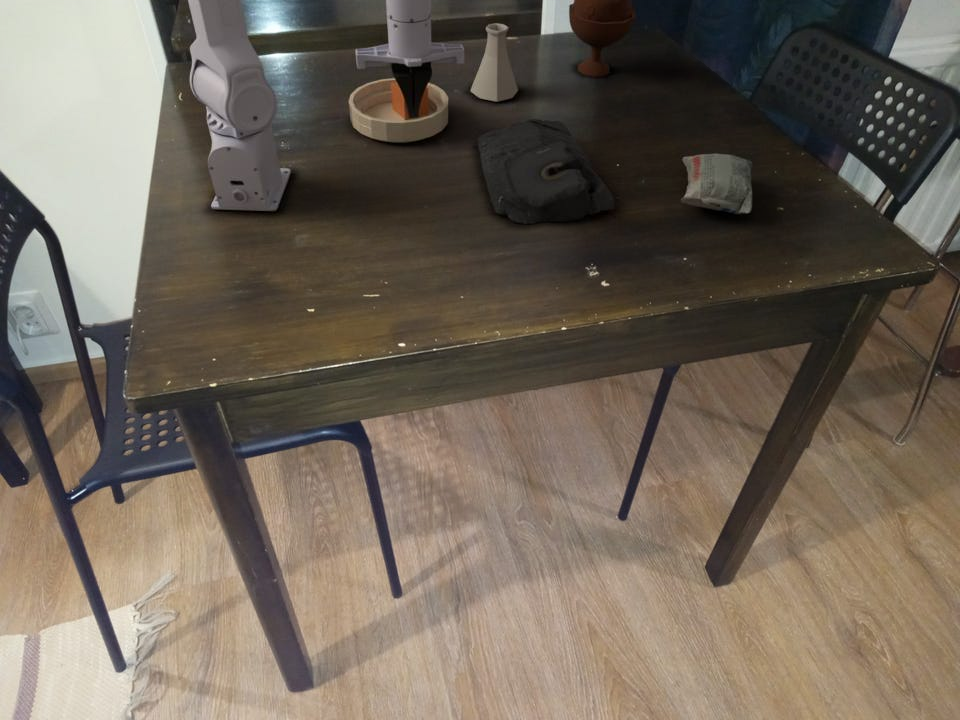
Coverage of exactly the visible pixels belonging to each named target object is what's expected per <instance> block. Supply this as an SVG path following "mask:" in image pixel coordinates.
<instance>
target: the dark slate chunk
mask: <svg viewBox="0 0 960 720" xmlns="http://www.w3.org/2000/svg"><path fill="white" fill-rule="evenodd" d="M477 143H478V146H477V147H478V150H479V155H480V156H479V158H480V162H481V168H482V172H483V178H485V183H486V186H487V187H486V188H487V192H488V194H489V196H490V203H492V207H493V210H494V212H495V213H496V214H498V215H500V216H503V217H507V218H508V219H510V221H511V223H513V224H517V225H518V224H523V225H528V224H532V225H534V224H535V223H538V222H550V223H554V222H555V223H556V222H558V223H562V222H570V221H577V220H582V219H584V218H585V217H587V216H594V215H595V214H600V211H608V210H614V207H615V203H616V202H615V201H616V200H615V198H614V197H613V194H612V192H611V190H610V189H609V188H608V187H607V185H606V183H605V182H604V181H603V180H602V179H601V178H600V176H599V175H598V174H597V173H596V171H594V169H593V168H592V166H591V162H590V160H589V159H588V156H587V155H586V153H585V152H584V151H583V150H582V149H581V147H580V145H579V143H577V142H576V140H575V139H574V137H573V136H572V133H571V131H570V130H569V128H568V127H567V126H566V124H565V123H563V122H561V121H559V120H548V119H545V120H543V119H538V118H531V119H526V120H523V121H520V122H516V123H513V124H511V125H508V126H506V127H504V128H499V129H494V130H490V131H488V132H487V133H484V134H482V135H480V136H479V137H478V139H477ZM589 191H590V192H589Z"/></svg>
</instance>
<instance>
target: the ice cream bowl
mask: <svg viewBox="0 0 960 720" xmlns="http://www.w3.org/2000/svg"><path fill="white" fill-rule="evenodd" d="M568 17H569V18H568V19H569V25H570V28H571V31H572V32H573V33H574V35H575V36H576V37H577V39H579V40H580V41H581V42H583V43H584V44H586V45H588V46H590V49H591V50H590V51H591V52H590V57H589V58H588V59H586V60H584V61H582V62H580V63H579V64H578V65H577V72H579V73H580V74H582V75H584V76H588V77H593V78H596V77H597V78H598V77H605V76H607V75H608V74H609V75H610V65H609V64H608V63H606V62H604V61H603V60H602V59H601V57H602V51H603V49H604V48H607V47H610V46H611V45H614V44H615V43H617V42H620V41H621V40H622V39H624V37H626V36H627V35H629V33H630V32H631V30H632V29H633V27H634V24H635V22H636V20H637V19H636V18H637V14H636V9H635V8H633V4H632V1H631V0H573V3H571V4H569V5H568Z"/></svg>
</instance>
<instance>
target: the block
mask: <svg viewBox="0 0 960 720" xmlns="http://www.w3.org/2000/svg"><path fill="white" fill-rule="evenodd" d="M391 91H392V108H393V110H394V111H395V112H397V113H398V114H399V115H400V116H401V117H402V118H403V119H405V120H407V119H411V118H409V117H408V113H407V107H406V102H405V99H404V96H403V94H402V92H401V89H400V87H399V85H398V83H397V82H393V83H391ZM426 114H429V106H428V87H426V89H425V91H424V94H423V97H422V100H421V104H420V108H419V116H422V115H426Z"/></svg>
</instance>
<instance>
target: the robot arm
mask: <svg viewBox="0 0 960 720" xmlns="http://www.w3.org/2000/svg"><path fill="white" fill-rule="evenodd" d="M187 1H188V6H189V11H190V14H191V18H192V23H193V27H194V31H195V36H196V39H194V41H193V42H192V44H191V45H190V46H189V51H190V56H191V68H190V73H189V85H190V89H191V91H192V94H193V95H194V97H195V98H196V99H197V100H198V101H199V102H200V103H202V104H203V105H205V108H206V123H207V127H208V131H209V134H210V138H211V139H210V140H211V148H210V151H209V155H208V158H207V168H208V171H209V175H210V179H211V183H212V185H213V186H212V187H213V190H214V193H215V196H214V199H213V200H212V202H211V205H210V207H211V209H212V210H222V211H223V210H224V211H227V210H228V211H257V212H258V211H260V212H275V211H277V210H278V209H279V206H280V203H281V200H282V197H283V195H284V192H285V190H286V187H287V184H288V182H289V179H290V176H291V173H292V170H291V169H290V168H286V167H281V166H280V161H279V156H278V151H277V146H276V141H275V135H274V130H273V124H272V122H273V120H274V118H275V116H276V112H277V108H278V100H277V95H276V92H275V91H274V89H273V87H272V86H271V84H270V83H269V82H268V80H267V78H266V76H265V72H264V65H263V62H262V61H261V59H260V57H259V56H258V54H257V51H256V50H255V48H254V47H253V45H252V43H251V41H250V39H249V35H248V29H247V25H246V19H245V13H244V8H243V7H244V6H243V2H242V0H187ZM385 6H386V7H385V8H386V24H387V25H386V26H387V40H388V41H387V42H388V43H385V44H381V45H375V46H371V47H363V48H355V49H354V50H355V59H356V68H357V70H364V69H366V68H368V67H369V68H370V67H372V68H373V67H387V66H388V67H390V68H391V72H392V75H393V78H395V80H396V82H397V83H398V85H399V87H400V89H401V92H402V94H403V96H404V99H405V102H406V107H407V113H408V117H409V118H418V116H419V108H420V104H421V100H422V97H423V94H424V91H425V89H426V87H427V85H428V83H430V81H431V79H432V77H433V76H432V75H433V69H432V64H449V63H455V64H457V65H464V64H465V50H466V49H465V48H464V45H463V44H461V43H460V44H459V43H458V44H457V43H455V44H454V43H442V42H432V0H385Z"/></svg>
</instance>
